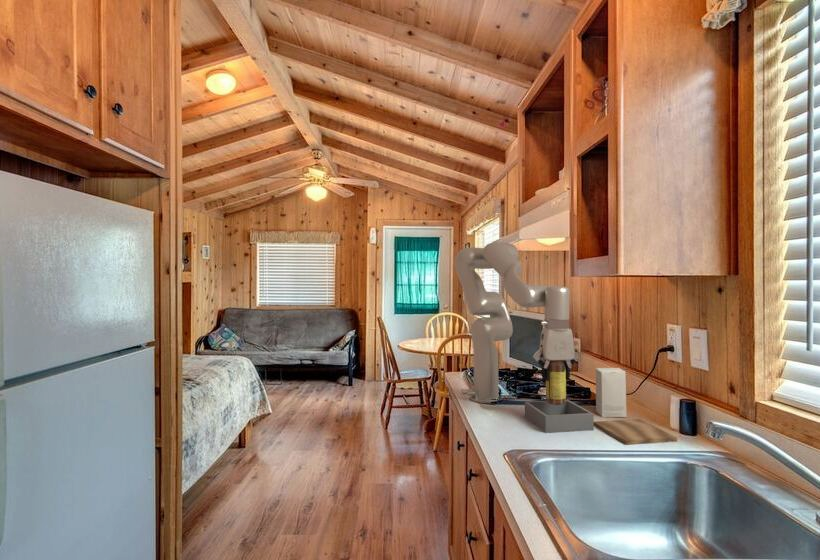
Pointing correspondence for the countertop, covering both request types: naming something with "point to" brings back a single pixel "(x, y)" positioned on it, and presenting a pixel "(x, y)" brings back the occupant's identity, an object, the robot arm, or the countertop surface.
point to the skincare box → (611, 392)
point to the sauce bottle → (556, 383)
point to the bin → (559, 416)
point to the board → (634, 431)
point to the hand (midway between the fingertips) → (555, 379)
